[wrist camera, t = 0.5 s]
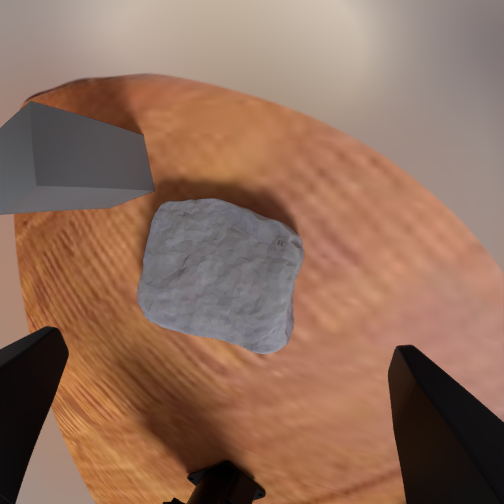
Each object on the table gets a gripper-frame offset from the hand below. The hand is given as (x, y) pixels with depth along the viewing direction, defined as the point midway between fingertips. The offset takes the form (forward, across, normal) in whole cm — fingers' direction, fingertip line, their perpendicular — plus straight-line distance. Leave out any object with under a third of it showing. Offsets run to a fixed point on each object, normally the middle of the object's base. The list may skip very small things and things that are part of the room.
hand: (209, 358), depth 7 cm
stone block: (+16, +3, +6) cm, 18 cm away
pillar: (+19, +12, -1) cm, 23 cm away
